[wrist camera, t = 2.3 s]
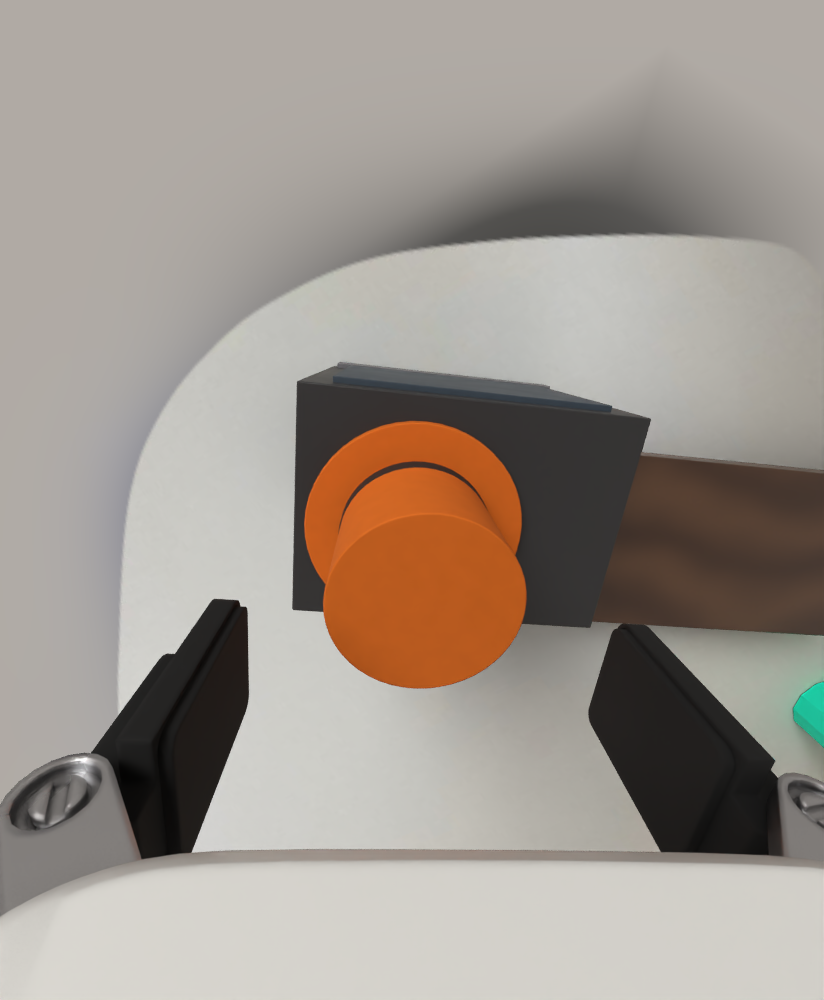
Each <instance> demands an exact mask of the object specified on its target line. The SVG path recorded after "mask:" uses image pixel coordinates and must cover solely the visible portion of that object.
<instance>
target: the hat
mask: <svg viewBox="0 0 824 1000" xmlns="http://www.w3.org/2000/svg"><path fill="white" fill-rule="evenodd" d="M304 526H305V539H306V544H307V549H308V552H309V555H310V558H311V561H312V563H313V565H314V567H315V569H316V571H317V573H318V574H319V576H320V577H321V579H322V580H323V582H324V583H325V584H326V585H325V590H324V598H323V612H324V618H325V623H326V626H327V629H328V632H329V635H330V636H331V638H332V640H333V642H334V644H335V646H336V647H337V649H338V650H339V651H340V653H341V654H342V655H343V656H344V657H345V658H346V659H347V660H348V661H349V662H350V663H351V664H352V665H353V666H354V667H356V668H357V669H358V670H360V671H361V672H363V673H365V674H366V675H368V676H370V677H372V678H374V679H376V680H378V681H381V682H384V683H387V684H390V685H395V686H399V687H406V688H435V687H441V686H446V685H451V684H454V683H457V682H460V681H463V680H465V679H467V678H470V677H472V676H474V675H476V674H478V673H479V672H481V671H483V670H484V669H486V668H487V667H488V666H490V665H491V664H492V663H494V662H495V661H496V660H497V659H498V658H499V657H500V656H501V655H502V654H503V653H504V652H505V651H506V650H507V648H508V647H509V646H510V645H511V643H512V641H513V640H514V638H515V637H516V635H517V633H518V631H519V629H520V627H521V624H522V621H523V618H524V614H525V608H526V600H527V590H526V583H525V578H524V575H523V572H522V568H521V566H520V564H519V562H518V560H517V558H516V556H515V554H516V551H517V548H518V544H519V541H520V535H521V528H522V512H521V505H520V500H519V496H518V493H517V489H516V487H515V485H514V482H513V480H512V478H511V476H510V474H509V473H508V471H507V470H506V468H505V466H504V465H503V464H502V462H501V461H500V460H499V459H498V458H497V457H496V456H495V454H494V453H493V452H492V451H491V450H489V449H488V448H487V447H486V446H485V445H484V444H482V443H481V442H480V441H478V440H477V439H475V438H474V437H472V436H471V435H469V434H467V433H465V432H463V431H460V430H458V429H456V428H453V427H450V426H447V425H443V424H439V423H433V422H427V421H406V422H396V423H392V424H387V425H383V426H380V427H377V428H375V429H372V430H369V431H367V432H365V433H363V434H361V435H359V436H358V437H356V438H354V439H353V440H351V441H350V442H348V443H347V444H346V445H344V446H343V447H342V448H341V449H340V450H339V451H338V452H336V453H335V454H334V455H333V456H332V457H331V459H330V460H329V461H328V462H327V464H326V465H325V466H324V467H323V469H322V471H321V472H320V474H319V476H318V477H317V479H316V481H315V483H314V485H313V488H312V490H311V492H310V495H309V498H308V502H307V506H306V511H305V521H304Z"/></svg>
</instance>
